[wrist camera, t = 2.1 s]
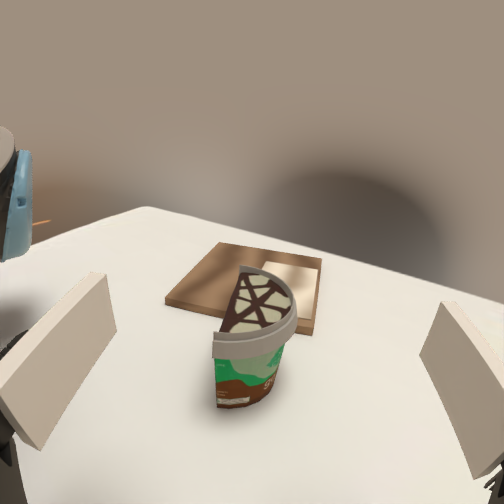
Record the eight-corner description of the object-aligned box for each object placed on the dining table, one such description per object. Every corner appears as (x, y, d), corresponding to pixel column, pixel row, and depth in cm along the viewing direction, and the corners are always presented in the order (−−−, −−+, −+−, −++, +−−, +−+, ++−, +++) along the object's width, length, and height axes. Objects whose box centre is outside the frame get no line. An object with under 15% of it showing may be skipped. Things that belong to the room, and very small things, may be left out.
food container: (282, 428, 24) (302, 348, 20) (213, 419, 24) (211, 336, 20) (287, 344, 35) (300, 269, 31) (236, 338, 35) (240, 262, 31)
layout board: (165, 304, 41) (164, 295, 40) (219, 247, 60) (219, 241, 60) (312, 335, 37) (314, 326, 36) (320, 264, 56) (322, 257, 56)
